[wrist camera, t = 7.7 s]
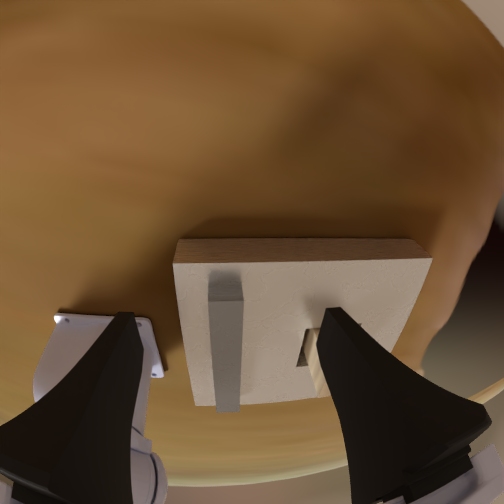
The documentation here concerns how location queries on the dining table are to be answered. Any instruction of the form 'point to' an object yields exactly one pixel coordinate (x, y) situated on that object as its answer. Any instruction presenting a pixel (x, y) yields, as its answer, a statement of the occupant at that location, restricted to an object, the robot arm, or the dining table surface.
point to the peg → (315, 362)
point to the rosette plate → (283, 307)
